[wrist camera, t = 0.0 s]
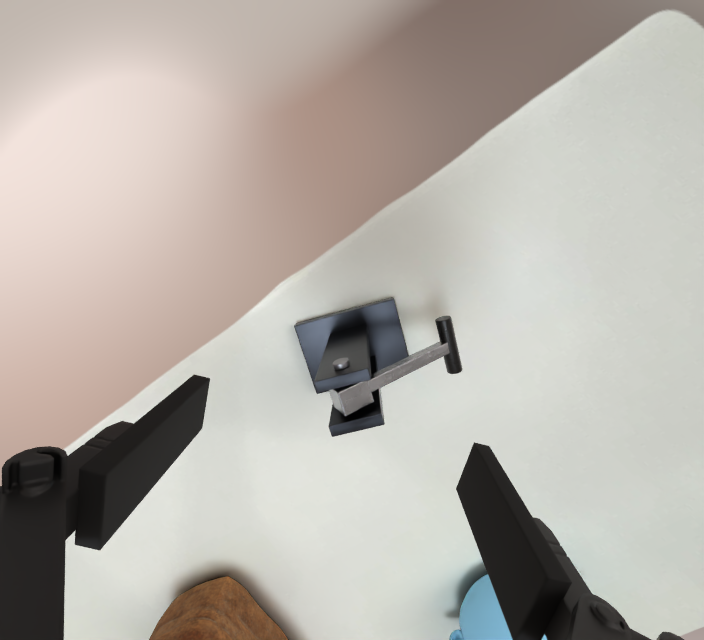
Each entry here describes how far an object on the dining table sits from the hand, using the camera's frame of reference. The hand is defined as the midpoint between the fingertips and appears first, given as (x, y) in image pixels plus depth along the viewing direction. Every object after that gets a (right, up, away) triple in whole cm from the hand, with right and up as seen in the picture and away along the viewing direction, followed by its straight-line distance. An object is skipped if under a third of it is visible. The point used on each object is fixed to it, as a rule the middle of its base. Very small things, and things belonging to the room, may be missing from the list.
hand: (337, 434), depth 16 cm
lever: (+5, +1, +15) cm, 16 cm away
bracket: (+1, +3, +25) cm, 25 cm away
